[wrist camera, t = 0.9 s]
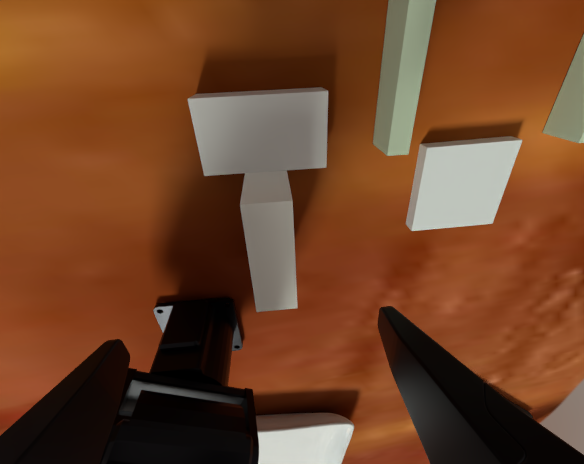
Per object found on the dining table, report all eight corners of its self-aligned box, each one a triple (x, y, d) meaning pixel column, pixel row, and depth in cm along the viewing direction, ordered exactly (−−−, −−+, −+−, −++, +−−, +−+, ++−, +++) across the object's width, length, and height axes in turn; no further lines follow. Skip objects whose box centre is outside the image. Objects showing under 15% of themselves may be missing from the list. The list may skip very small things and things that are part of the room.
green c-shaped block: (560, 131, 18) (598, 141, 16) (372, 143, 18) (387, 155, 16) (661, -94, 13) (738, -123, 11) (398, -87, 12) (425, -116, 10)
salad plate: (169, 405, 32) (160, 440, 30) (349, 395, 35) (357, 426, 32) (193, 477, 44) (188, 507, 41) (328, 466, 46) (333, 494, 43)
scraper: (319, 246, 22) (336, 304, 17) (228, 253, 21) (216, 315, 16) (321, 87, 16) (348, 102, 11) (195, 93, 16) (162, 113, 11)
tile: (479, 213, 22) (492, 223, 21) (403, 220, 22) (411, 231, 20) (505, 134, 19) (522, 139, 17) (416, 141, 19) (427, 147, 17)
